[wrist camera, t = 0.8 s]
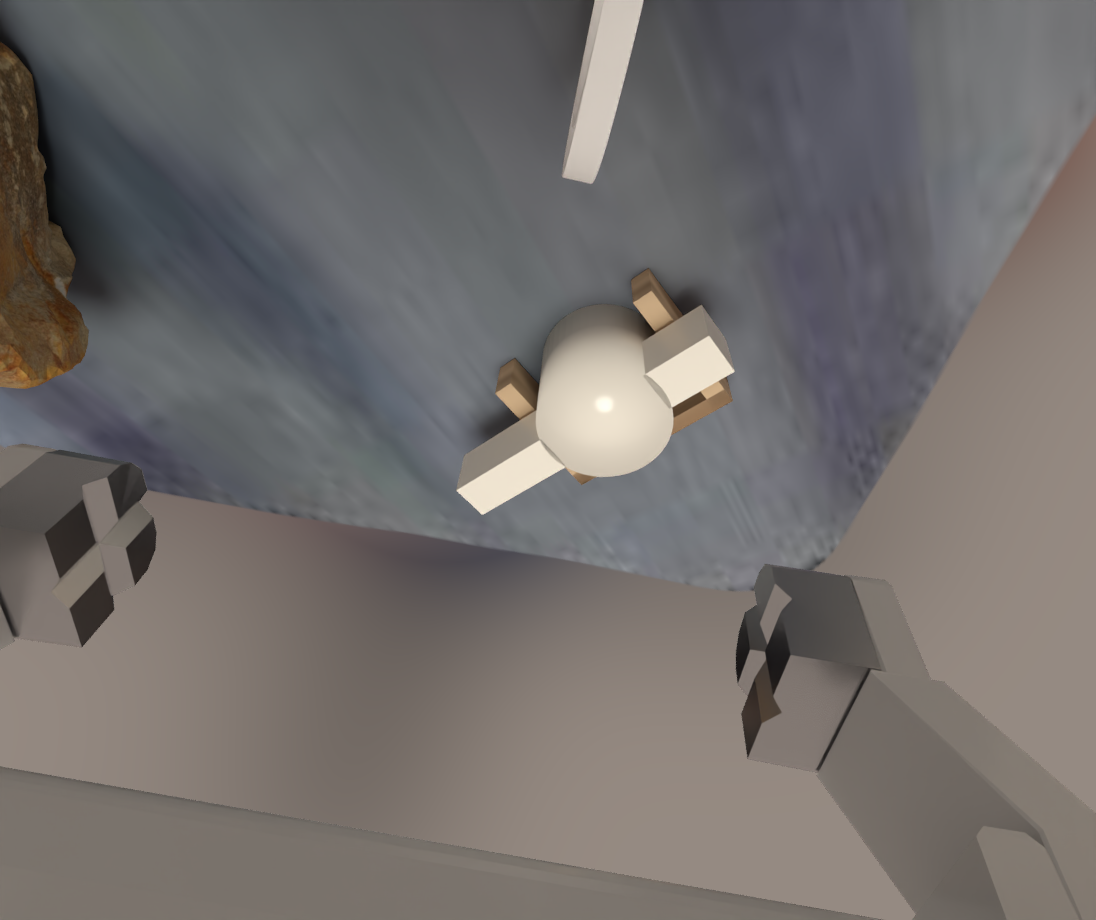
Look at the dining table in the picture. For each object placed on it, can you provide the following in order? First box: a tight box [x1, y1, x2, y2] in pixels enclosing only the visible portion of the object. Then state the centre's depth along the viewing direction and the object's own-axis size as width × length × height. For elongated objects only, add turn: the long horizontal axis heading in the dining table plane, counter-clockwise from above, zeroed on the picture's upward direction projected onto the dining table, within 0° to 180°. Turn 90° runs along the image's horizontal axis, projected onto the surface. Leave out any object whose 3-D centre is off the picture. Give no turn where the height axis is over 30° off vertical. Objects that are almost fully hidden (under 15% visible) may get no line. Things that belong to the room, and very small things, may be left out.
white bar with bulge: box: [456, 304, 735, 515], centre depth 45 cm, size 8×17×7 cm, turn 128°
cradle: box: [495, 268, 733, 485], centre depth 46 cm, size 9×11×3 cm
